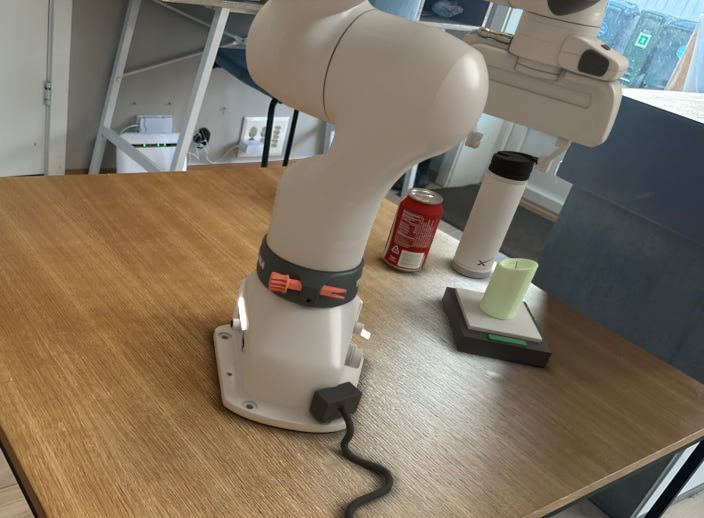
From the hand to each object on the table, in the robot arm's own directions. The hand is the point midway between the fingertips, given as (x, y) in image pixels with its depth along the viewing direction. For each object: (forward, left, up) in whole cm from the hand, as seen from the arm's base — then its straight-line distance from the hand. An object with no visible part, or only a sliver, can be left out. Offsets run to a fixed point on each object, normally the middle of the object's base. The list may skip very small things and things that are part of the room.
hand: (505, 158), depth 91 cm
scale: (-4, -6, -23) cm, 24 cm away
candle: (-3, -6, -20) cm, 21 cm away
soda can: (+13, +5, -23) cm, 27 cm away
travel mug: (+16, -7, -23) cm, 29 cm away
